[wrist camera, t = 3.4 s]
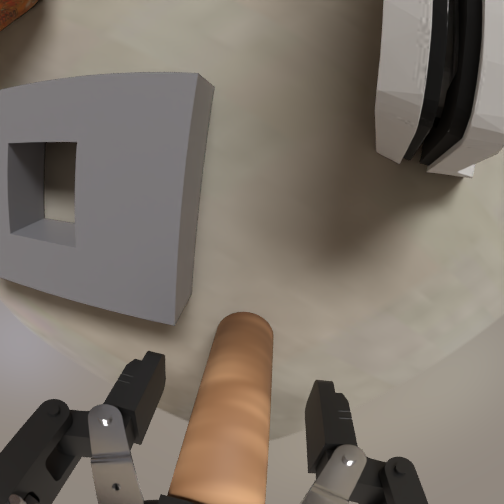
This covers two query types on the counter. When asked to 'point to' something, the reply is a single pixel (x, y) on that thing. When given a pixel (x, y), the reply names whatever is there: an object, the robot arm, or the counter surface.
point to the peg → (230, 419)
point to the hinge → (441, 83)
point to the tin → (13, 10)
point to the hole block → (107, 188)
